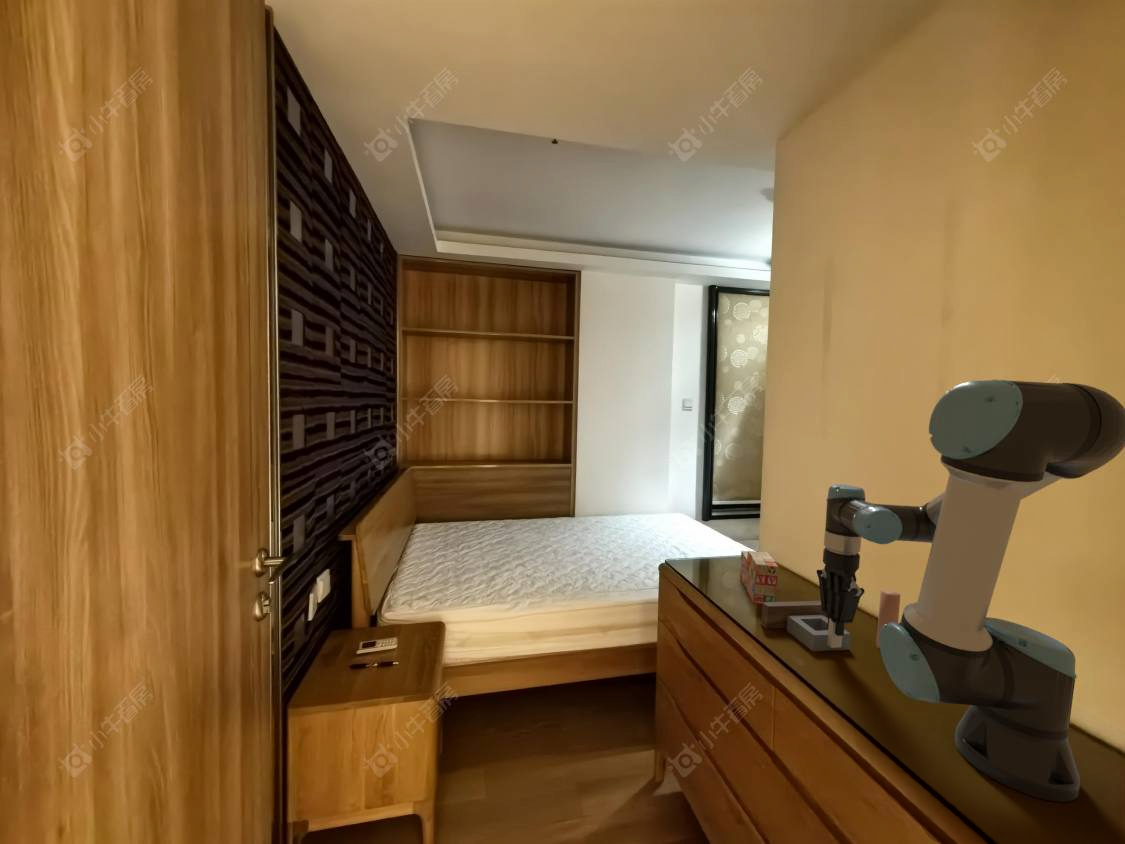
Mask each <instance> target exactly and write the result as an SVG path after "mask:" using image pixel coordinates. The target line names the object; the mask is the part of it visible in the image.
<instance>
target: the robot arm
mask: <svg viewBox="0 0 1125 844" xmlns="http://www.w3.org/2000/svg"><path fill="white" fill-rule="evenodd" d="M928 433H929V434H930V435H931V436H930V438H929V440H930V444H931V445H932V446H933V448H934V449H935V450H936V451H937V452H938V453H939V454H940V455H941V456H940V460H939V461H940V463H941V465H942V466H943V467H944V468H945V469H946V471H947V472H948V473H949V475H948V478H947V481H946V482H947V483H946V486H945V491H943V492H942V493H940V494H939V495H937V496H936V497H933V499H931V500H930V501H929V502H927V503H925V504H923V505H920V506H916V505H915V506H914V505H899V504H897V505H896V504H886V503H885V504H881V503H873V502H868V501H866V491H865V490H864V488H862V487H860V486H855V485H850V484H849V485H847V484H832V485H830V486H829V488H828V493H827V498H826V509H825V510H826V511H825V530H824V538H823V546H824V548H823V553H822V563H823V564H824V565H825V566H824V568H823V569H816V574H817V577H818V584H819V596H820V601H821V608H822V611H825V612H826V614H827V617H828V625H827V628H828V641H827V645H828V646H830V647H831V648H838V647H841V645H842V636H843V635H844V630H845V625H846V624H852V623H853V622H854V618H855V615H856V613H857V609H858V606H859V604H860V600H861V597H863V595H864V594H865V589H864V587H860V586H859V585H858V583H857V576H856V572H857V571H858V570H859V568H860V561H861V555H860V552H861V546H862V538H863V539H864V540H867V541H868V542H870V543H873V544H878V545H889V544H891V543H892V542H895V541H898V542H899V541H900V542H901V541H902V542H914V543H915V542H917V543H927V544H928V543H929V544H931V546H930V550H929V553H928V558H927V562H926V566H925V569H924V570H925V571H924V574H923V578H922V581H921V582H922V583H921V586H920V590H919V593H918V594H919V595H918V598H917V601H915V602H912V603H909V604H907V605H905V607H904V608H903V611H902V615H901V618H900V622H898V623H895V622H891V623H888V624H886V625H884V626H883V627H882V629H881V631H880V638H879V642H880V649H879V650H880V654H881V658H882V661H883V664H884V667H885V669H886V671H887V673H888V675H889V677H890V679H891V680H892V682H893V683H894V684H895V686H896V687H897V689H898V690H899V691H901V692H902V694H903V695H905V696H907V697H909V698H911V699H913V700H917V701H925V702H929V703H932V704H939V703H943V704H955V705H965V706H966V705H968V706H969V707H968V708H967V709H966V711H965V713H964V714H963V716H962V717H961V719H960V720H959V722H958V724H957V725H956V727H955V733H954V744H955V747H956V749H957V750H958V751H959V753H960V754H961V756H962V757H963V758H964V759H965V760H967V762H968V763H970V764H971V765H972V766H974V767H975V769H977V770H978V771H980V772H981V773H983V774H984V775H986V776H988V777H989V778H991V779H993V780H994V781H997V782H998V783H1000V784H1002V785H1004V786H1006V787H1008V788H1010V789H1013V790H1015V791H1017V792H1019V793H1022V794H1025V795H1028V796H1031V797H1035V798H1038V799H1040V800H1041V799H1042V800H1045V801H1052V802H1057V803H1058V802H1060V803H1061V802H1063V803H1065V802H1071V801H1074V800H1075V799H1077V798H1078V796H1079V794H1080V793H1079V792H1080V785H1081V784H1080V783H1081V779H1080V778H1081V777H1080V774H1079V771H1078V768H1077V765H1076V762H1075V758H1074V755H1073V752H1072V749H1071V745H1070V743H1069V730H1070V729H1069V727H1070V722H1071V714H1072V706H1073V699H1074V691H1075V683H1076V679H1077V678H1078V677H1077V674H1076V656H1075V653H1074V652H1073V650H1071V648H1069V647H1068V646H1067V645H1065V644H1064V643H1063V642H1061V641H1059V640H1057V639H1056V638H1054V637H1052V636H1050V635H1048V634H1046V633H1043V632H1041V631H1038V630H1035V629H1033V628H1030V627H1028V626H1024V625H1022V624H1019V623H1015V622H1012V621H1009V620H1006V619H1000V618H996V617H987V615H988V611H989V608H990V605H991V601H992V598H993V595H994V592H995V588H996V584H997V582H998V579H999V575H1000V571H1001V568H1002V565H1003V561H1004V558H1005V555H1006V552H1007V549H1008V548H1007V547H1008V544H1009V541H1010V537H1011V534H1012V531H1013V528H1014V524H1015V521H1016V517H1017V514H1018V511H1019V507H1020V504H1021V502H1022V500H1023V499H1026V498H1027V497H1029V496H1031V495H1034V494H1035V493H1037V492H1039V491H1041V490H1042V489H1045V488H1046V487H1048V486H1050V485H1052V484H1054V483H1056V482H1058V481H1060V480H1062V479H1064V480H1075V479H1080V478H1082V477H1084V476H1086V475H1088V474H1090V473H1092V472H1094V471H1097V470H1098V469H1100V468H1101V467H1104V466H1105V465H1106V464H1108V463H1109V462H1110V461H1112V460H1113V459H1116V457H1117V456H1118V455H1119V454H1120V453H1121V452H1122V451H1123V450H1124V449H1125V407H1124V405H1123V404H1121V402H1119V401H1118V399H1116V397H1114V396H1113V395H1111V394H1110V393H1108V392H1106V391H1104V390H1101V389H1100V388H1097V387H1094V386H1090V385H1088V384H1087V385H1086V384H1082V383H1075V382H1074V383H1072V382H1058V383H1057V382H1042V381H1041V382H1039V381H1021V380H1008V379H1006V380H1005V379H997V378H996V379H990V380H985V379H984V380H969V381H964V382H962V383H960V384H957V385H955V386H953V388H952V389H950V390H947V391H946V392H945V393H944V394H943V395H942V396H941V397H940V398H939V400H938V401H937V403H936V404H935V406H934V408H933V410H932V413H931V414H930V418H929V424H928ZM826 605H827V606H826Z"/></svg>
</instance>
